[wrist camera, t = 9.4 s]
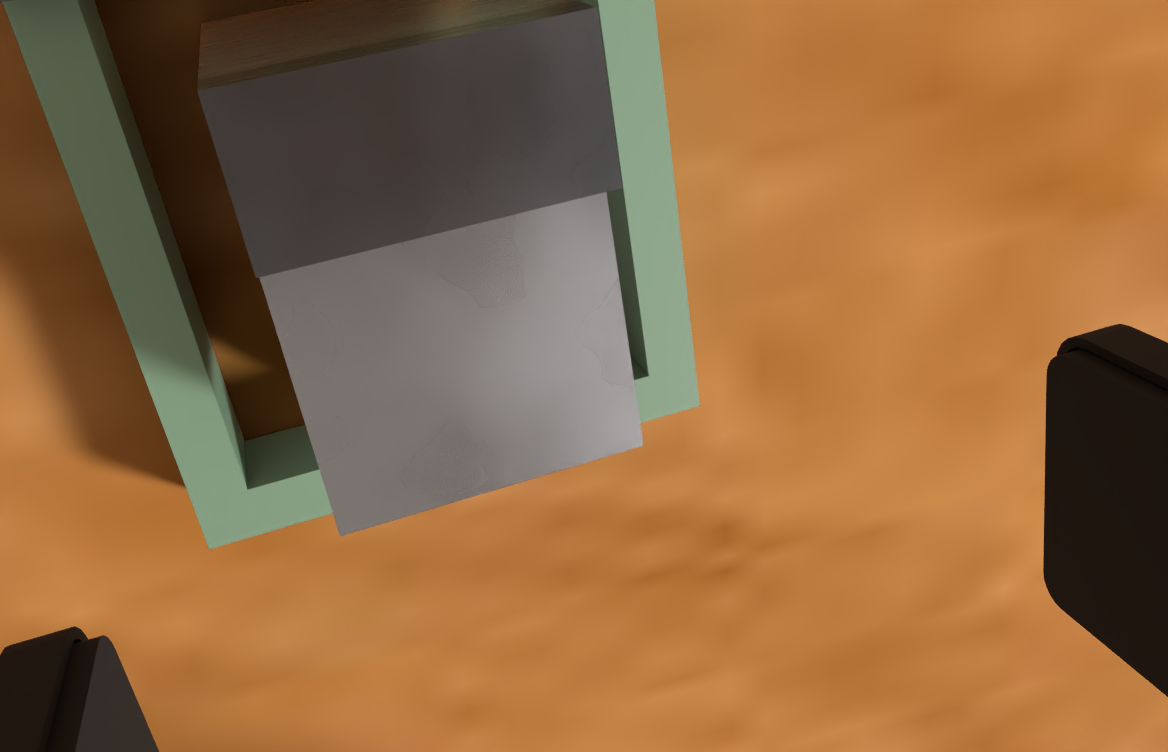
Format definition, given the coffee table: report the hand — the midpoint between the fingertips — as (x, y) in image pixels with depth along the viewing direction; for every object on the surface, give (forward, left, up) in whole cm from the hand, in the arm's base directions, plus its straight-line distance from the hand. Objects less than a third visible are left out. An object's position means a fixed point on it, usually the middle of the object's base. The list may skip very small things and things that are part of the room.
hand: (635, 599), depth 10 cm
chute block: (+1, 0, -13) cm, 13 cm away
